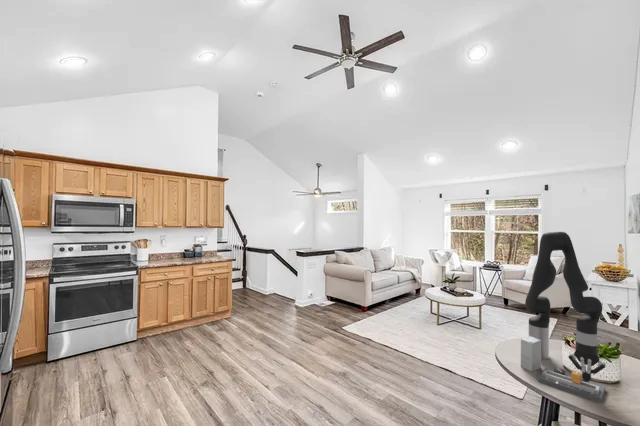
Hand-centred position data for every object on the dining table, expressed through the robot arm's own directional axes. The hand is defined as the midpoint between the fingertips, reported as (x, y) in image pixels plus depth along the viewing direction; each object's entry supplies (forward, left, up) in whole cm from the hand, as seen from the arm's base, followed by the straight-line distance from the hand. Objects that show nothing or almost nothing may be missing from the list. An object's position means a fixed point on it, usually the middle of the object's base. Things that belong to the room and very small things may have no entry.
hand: (586, 380), depth 135 cm
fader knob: (0, -3, -3) cm, 5 cm away
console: (-2, -6, -5) cm, 8 cm away
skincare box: (-7, -23, -6) cm, 24 cm away
